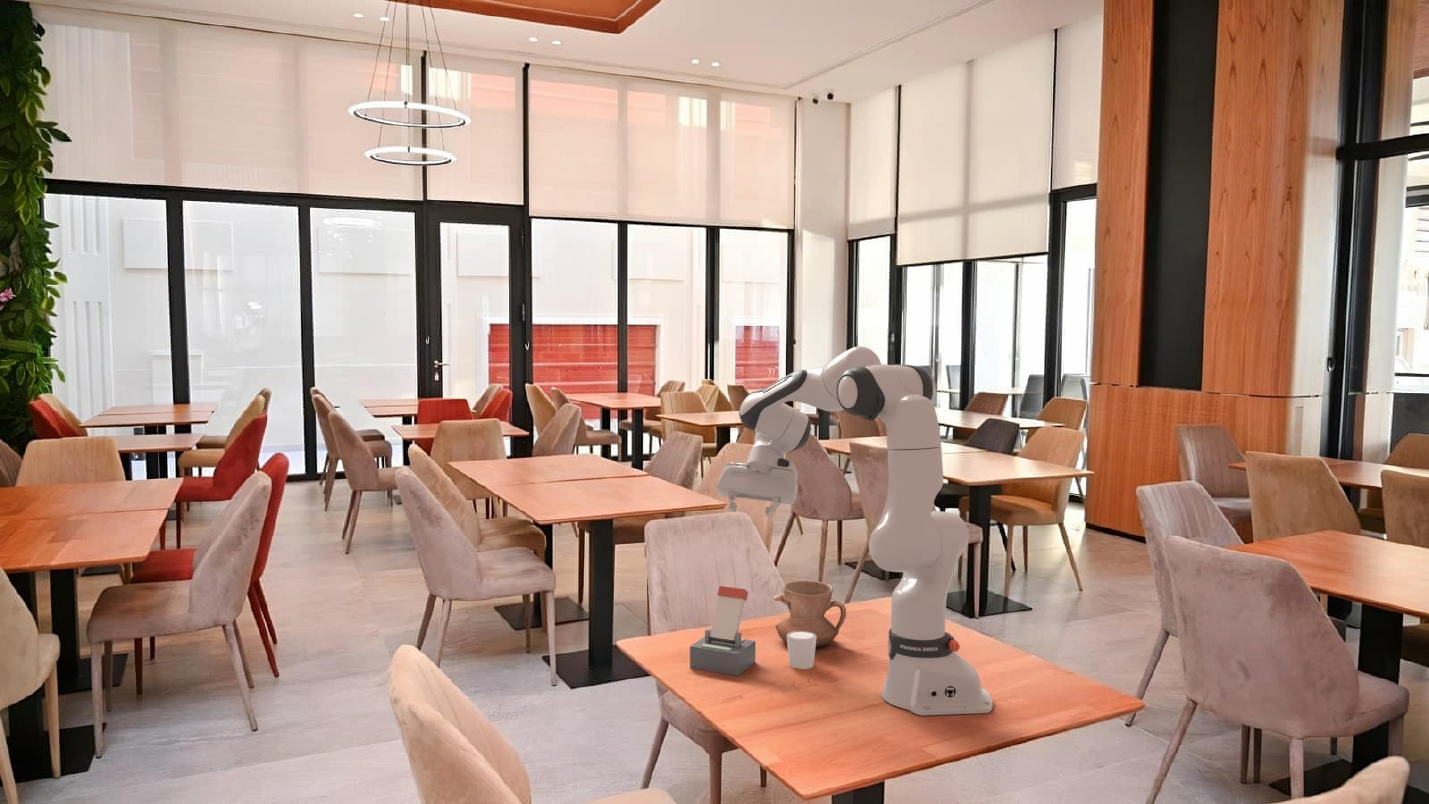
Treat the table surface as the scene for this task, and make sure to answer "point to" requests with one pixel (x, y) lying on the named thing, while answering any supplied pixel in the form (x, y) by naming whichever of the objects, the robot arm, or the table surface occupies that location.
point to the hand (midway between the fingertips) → (749, 512)
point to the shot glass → (801, 649)
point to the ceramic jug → (809, 610)
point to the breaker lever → (728, 614)
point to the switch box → (722, 655)
